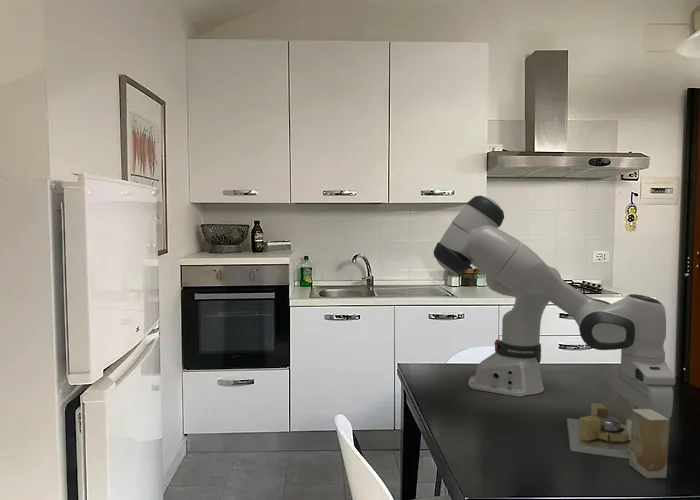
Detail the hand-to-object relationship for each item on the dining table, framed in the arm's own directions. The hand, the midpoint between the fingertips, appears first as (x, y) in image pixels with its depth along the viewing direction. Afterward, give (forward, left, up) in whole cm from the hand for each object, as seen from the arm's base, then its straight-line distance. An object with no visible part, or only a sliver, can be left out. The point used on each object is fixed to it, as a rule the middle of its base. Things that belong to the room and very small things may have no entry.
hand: (639, 424), depth 125 cm
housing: (-7, -1, -5) cm, 8 cm away
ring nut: (-7, 0, -3) cm, 8 cm away
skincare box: (-1, -15, -5) cm, 16 cm away
